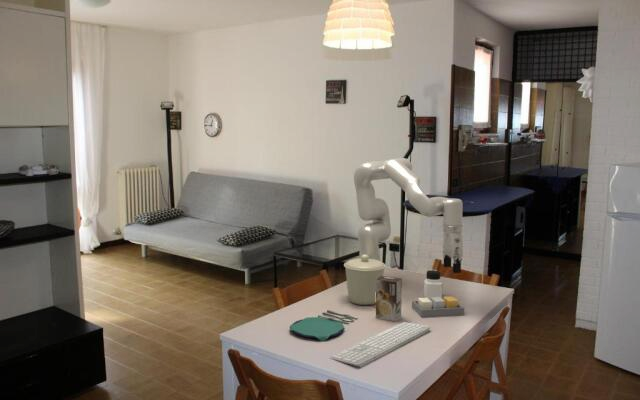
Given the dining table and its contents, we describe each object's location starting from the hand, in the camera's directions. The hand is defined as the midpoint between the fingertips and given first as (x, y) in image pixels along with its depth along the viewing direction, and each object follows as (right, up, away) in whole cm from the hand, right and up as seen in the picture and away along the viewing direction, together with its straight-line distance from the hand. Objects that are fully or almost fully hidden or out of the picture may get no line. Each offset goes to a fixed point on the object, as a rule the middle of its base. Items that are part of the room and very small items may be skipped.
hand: (451, 269), depth 229 cm
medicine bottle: (-4, -15, +21) cm, 26 cm away
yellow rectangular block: (0, -15, +2) cm, 15 cm away
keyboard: (-32, -23, -32) cm, 51 cm away
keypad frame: (-6, -17, +1) cm, 18 cm away
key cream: (-11, -15, 0) cm, 19 cm away
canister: (-35, -16, +14) cm, 41 cm away
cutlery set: (-53, -21, -16) cm, 59 cm away
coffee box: (-27, -19, -6) cm, 33 cm away
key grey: (-6, -15, +1) cm, 16 cm away
